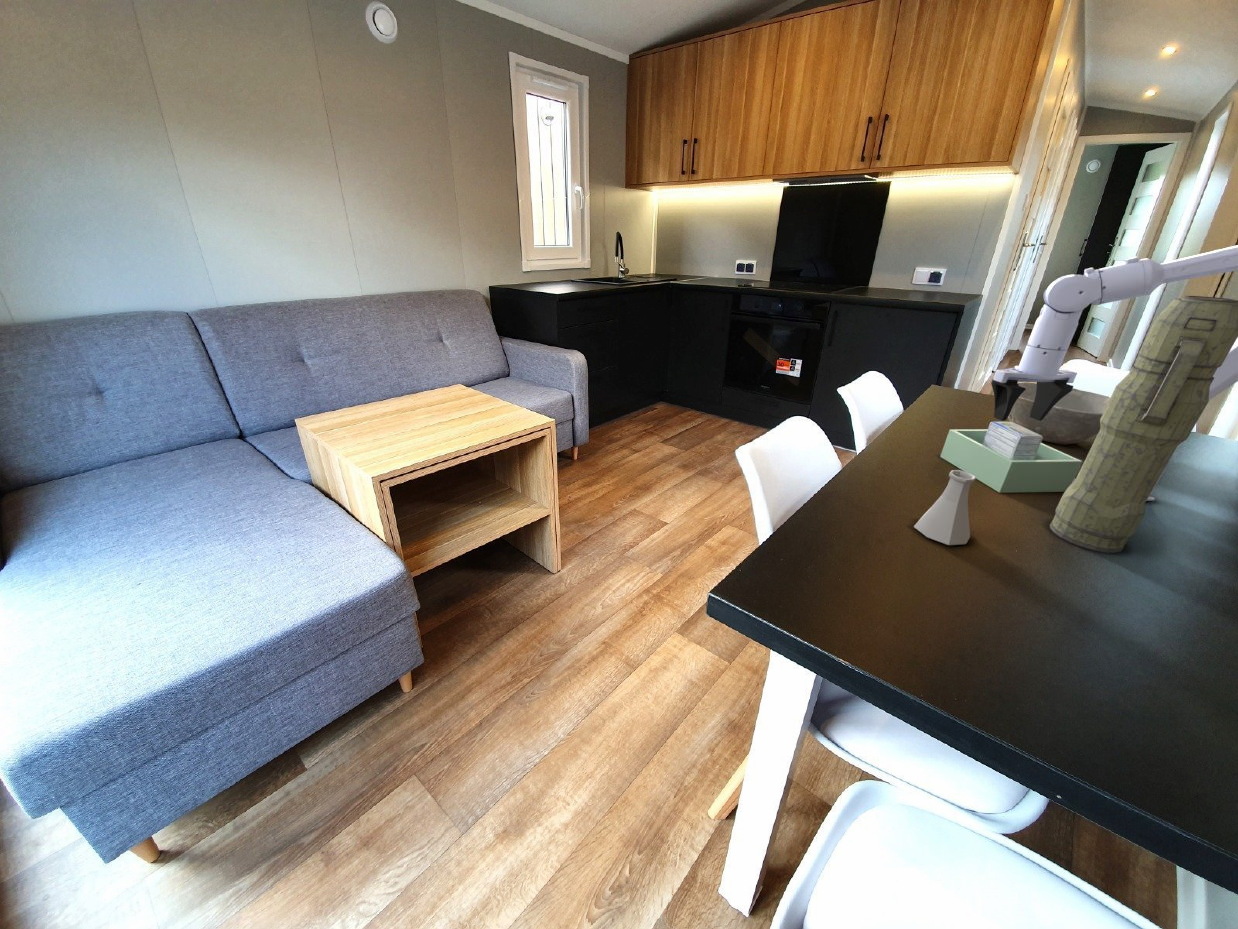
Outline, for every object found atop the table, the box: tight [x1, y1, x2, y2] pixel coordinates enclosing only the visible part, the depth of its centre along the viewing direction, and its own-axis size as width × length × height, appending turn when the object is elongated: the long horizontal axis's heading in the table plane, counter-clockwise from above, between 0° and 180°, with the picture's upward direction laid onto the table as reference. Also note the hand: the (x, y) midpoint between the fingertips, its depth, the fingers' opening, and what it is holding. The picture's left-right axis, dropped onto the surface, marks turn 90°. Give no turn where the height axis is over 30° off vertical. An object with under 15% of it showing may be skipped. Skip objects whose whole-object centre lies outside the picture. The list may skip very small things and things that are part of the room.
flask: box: [913, 469, 977, 546], centre depth 73 cm, size 7×7×10 cm
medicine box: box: [982, 421, 1043, 460], centre depth 93 cm, size 8×4×9 cm, turn 1°
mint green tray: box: [940, 428, 1083, 494], centre depth 94 cm, size 14×16×6 cm
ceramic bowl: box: [1007, 382, 1111, 445], centre depth 112 cm, size 22×23×10 cm
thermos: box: [1049, 295, 1238, 554], centre depth 68 cm, size 9×12×35 cm
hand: (1017, 418), depth 93 cm, fingers open, 7 cm apart
